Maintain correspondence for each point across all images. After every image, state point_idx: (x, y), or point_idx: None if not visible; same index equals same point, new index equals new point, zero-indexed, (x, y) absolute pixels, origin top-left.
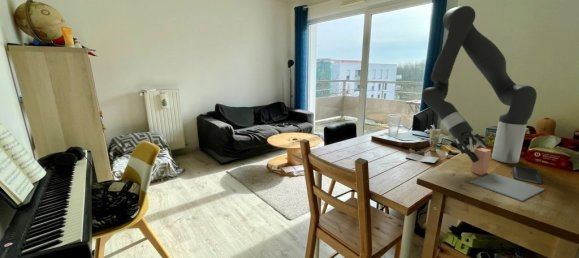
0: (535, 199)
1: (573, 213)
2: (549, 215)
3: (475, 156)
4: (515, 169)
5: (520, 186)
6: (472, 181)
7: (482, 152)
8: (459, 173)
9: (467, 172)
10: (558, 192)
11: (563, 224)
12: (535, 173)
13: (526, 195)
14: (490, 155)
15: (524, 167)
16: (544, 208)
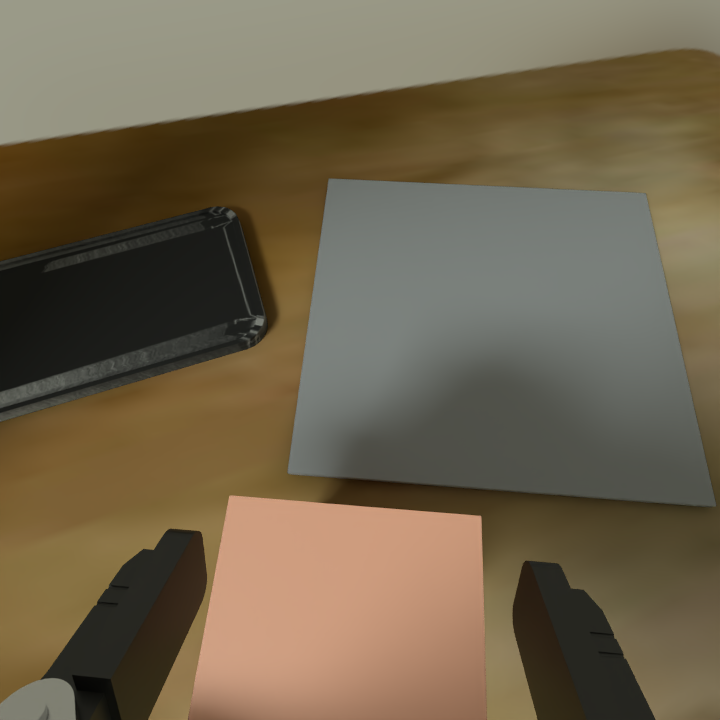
0: (530, 175)
1: (530, 69)
2: (664, 105)
3: (584, 625)
4: (25, 389)
5: (420, 258)
6: (688, 494)
7: (475, 564)
8: None
9: None
10: (299, 144)
11: (693, 66)
12: (30, 275)
13: (543, 201)
14: (169, 536)
15: None
16: (606, 130)
